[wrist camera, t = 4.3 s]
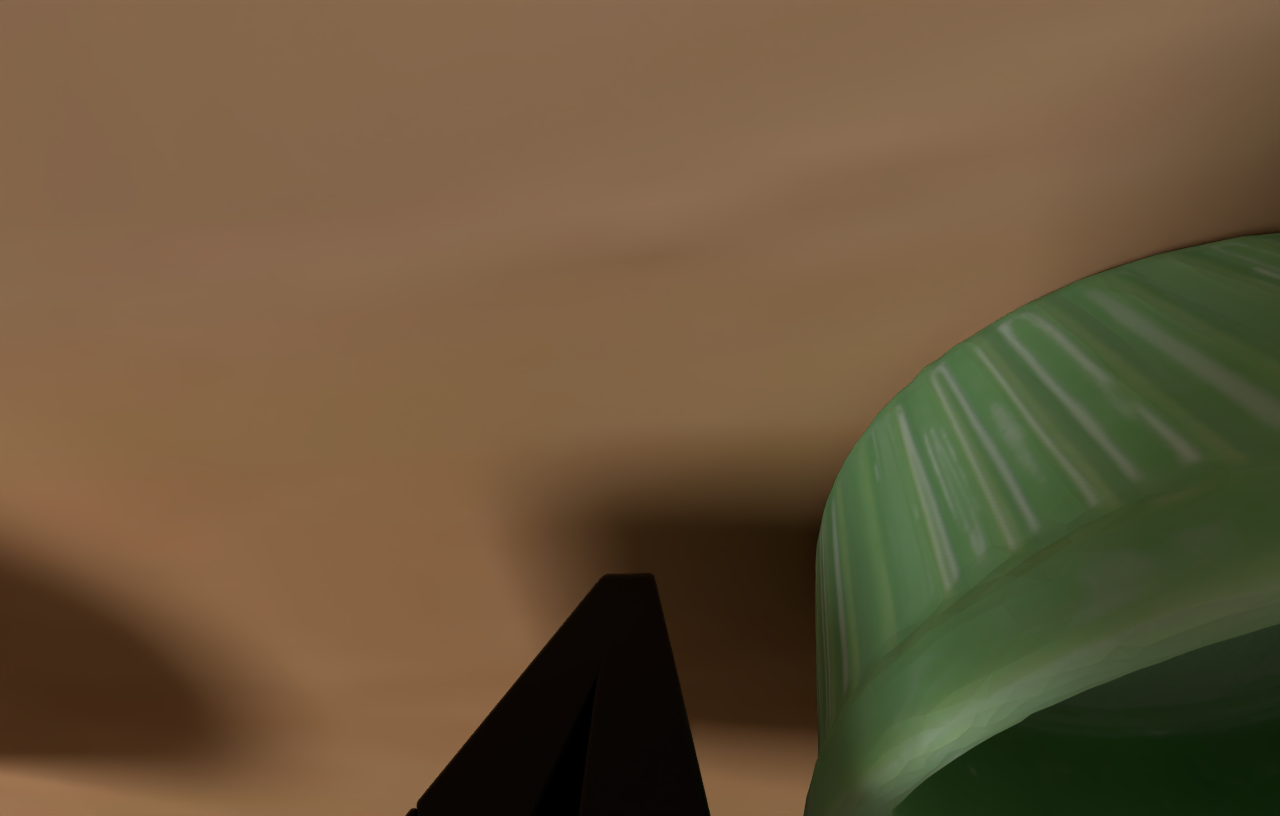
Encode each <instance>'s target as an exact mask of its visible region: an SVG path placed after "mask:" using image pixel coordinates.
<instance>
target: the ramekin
mask: <svg viewBox="0 0 1280 816" xmlns="http://www.w3.org/2000/svg"><path fill="white" fill-rule="evenodd" d="M815 573H816V581H815V627H816V692H817V726H818V759H817V761H816V764H815V769H814V773H813V777H812V780H811V784H810V787H809V791H808V794H807V797H806V804H805V810H804V816H1280V233H1273V234H1265V235H1253V236H1242V237H1237V238H1232V239H1227V240H1222V241H1217V242H1212V243H1208V244H1203V245H1198V246H1194V247H1189V248H1184V249H1180V250H1175V251H1170V252H1166V253H1161V254H1156V255H1153V256H1150V257H1147V258H1144V259H1140V260H1137V261H1134V262H1131V263H1128V264H1125V265H1121V266H1118V267H1115V268H1112V269H1109V270H1106V271H1103V272H1100V273H1097V274H1094V275H1092V276H1089V277H1086V278H1084V279H1081V280H1078V281H1076V282H1074V283H1072V284H1070V285H1067V286H1065V287H1063V288H1061V289H1059V290H1056V291H1054V292H1052V293H1050V294H1047V295H1045V296H1043V297H1041V298H1038V299H1036V300H1034V301H1032V302H1030V303H1028V304H1026V305H1024V306H1022V307H1020V308H1018V309H1016V310H1015V311H1013V312H1011V313H1009V314H1007V315H1005V316H1004V317H1002V318H1000V319H999V320H997V321H995V322H994V323H992V324H990V325H989V326H987V327H986V328H984V329H982V330H981V331H979V332H977V333H976V334H974V335H973V336H971V337H970V338H968V339H966V340H965V341H963V342H961V343H959V344H957V345H956V346H954V347H952V348H951V349H950V350H949V351H948V352H946V353H945V354H944V355H943V356H941V357H940V358H939V359H937V360H936V361H934V362H932V363H931V364H929V365H927V366H926V367H924V369H923V370H922V371H921V372H920V373H919V374H918V375H917V376H916V378H915V379H914V380H913V381H912V382H911V383H910V384H909V385H908V386H906V387H905V388H904V389H902V390H901V391H900V392H899V393H898V394H897V395H896V396H895V397H894V398H893V399H892V400H891V401H890V402H889V403H888V404H887V405H886V406H885V407H884V408H883V409H882V410H881V411H880V412H879V414H878V415H877V416H876V418H875V419H874V420H873V422H872V423H871V424H870V426H869V427H868V428H867V430H866V431H865V432H864V434H863V435H862V436H861V438H860V439H859V440H858V442H857V443H856V444H855V446H854V447H853V449H852V450H851V452H850V454H849V455H848V457H847V458H846V460H845V462H844V464H843V466H842V468H841V470H840V472H839V473H838V475H837V477H836V480H835V482H834V485H833V487H832V490H831V492H830V494H829V497H828V499H827V502H826V505H825V508H824V512H823V517H822V522H821V527H820V532H819V537H818V541H817V548H816V565H815Z"/></svg>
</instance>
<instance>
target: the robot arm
mask: <svg viewBox="0 0 1280 816" xmlns="http://www.w3.org/2000/svg"><path fill="white" fill-rule="evenodd" d="M406 816H711V815H710V811H709V807H708V803H707V798H706V794H705V790H704V785H703V781H702V777H701V773H700V768H699V764H698V760H697V755H696V751H695V747H694V743H693V738H692V734H691V730H690V725H689V721H688V717H687V713H686V708H685V704H684V700H683V696H682V691H681V687H680V683H679V678H678V674H677V670H676V666H675V661H674V657H673V653H672V648H671V644H670V640H669V636H668V631H667V627H666V623H665V618H664V614H663V610H662V606H661V601H660V597H659V593H658V588H657V584H656V580H655V577H654V575H653V574H650V573H640V574H606V575H604V576H602V577H601V578H600V579H599V581H598V582H597V583H596V584H595V585H594V587H593V588H592V589H591V590H590V592H589V593H588V594H587V595H586V596H585V598H584V599H583V600H582V601H581V602H580V604H579V605H578V606H577V607H576V609H575V610H574V611H573V612H572V613H571V615H570V616H569V617H568V618H567V620H566V621H565V622H564V623H563V624H562V626H561V627H560V628H559V629H558V631H557V632H556V633H555V634H554V635H553V637H552V638H551V639H550V640H549V642H548V643H547V644H546V645H545V646H544V648H543V649H542V650H541V651H540V653H539V654H538V655H537V656H536V657H535V659H534V660H533V661H532V662H531V663H530V665H529V666H528V667H527V668H526V670H525V671H524V672H523V673H522V674H521V676H520V677H519V678H518V679H517V681H516V682H515V683H514V684H513V685H512V687H511V688H510V689H509V690H508V692H507V693H506V694H505V695H504V696H503V698H502V699H501V700H500V701H499V703H498V704H497V705H496V706H495V707H494V709H493V710H492V711H491V712H490V713H489V715H488V716H487V717H486V718H485V720H484V721H483V722H482V723H481V724H480V726H479V727H478V728H477V729H476V731H475V732H474V733H473V734H472V735H471V737H470V738H469V739H468V740H467V742H466V743H465V744H464V745H463V746H462V748H461V749H460V750H459V751H458V753H457V754H456V755H455V756H454V757H453V759H452V760H451V761H450V762H449V764H448V765H447V766H446V767H445V768H444V770H443V771H442V772H441V773H440V774H439V776H438V777H437V778H436V779H435V781H434V782H433V783H432V784H431V785H430V787H429V788H428V789H427V790H426V792H425V793H424V794H423V795H422V796H421V798H420V799H419V800H418V802H417V809H416V808H412V809H411V810H410V811H409V812H408V813H407V814H406Z"/></svg>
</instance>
